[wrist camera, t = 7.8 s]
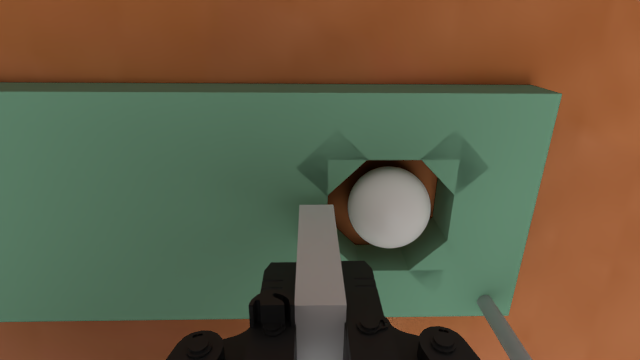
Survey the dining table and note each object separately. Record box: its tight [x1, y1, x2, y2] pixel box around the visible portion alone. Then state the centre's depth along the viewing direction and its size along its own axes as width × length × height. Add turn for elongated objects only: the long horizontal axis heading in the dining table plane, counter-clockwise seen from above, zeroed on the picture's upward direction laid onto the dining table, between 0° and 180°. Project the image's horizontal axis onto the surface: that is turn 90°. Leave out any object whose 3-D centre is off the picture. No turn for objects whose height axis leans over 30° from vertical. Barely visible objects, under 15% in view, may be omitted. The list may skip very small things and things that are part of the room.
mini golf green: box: [0, 82, 562, 360], centre depth 14 cm, size 30×12×14 cm, turn 89°
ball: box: [348, 166, 431, 248], centre depth 19 cm, size 4×4×4 cm
